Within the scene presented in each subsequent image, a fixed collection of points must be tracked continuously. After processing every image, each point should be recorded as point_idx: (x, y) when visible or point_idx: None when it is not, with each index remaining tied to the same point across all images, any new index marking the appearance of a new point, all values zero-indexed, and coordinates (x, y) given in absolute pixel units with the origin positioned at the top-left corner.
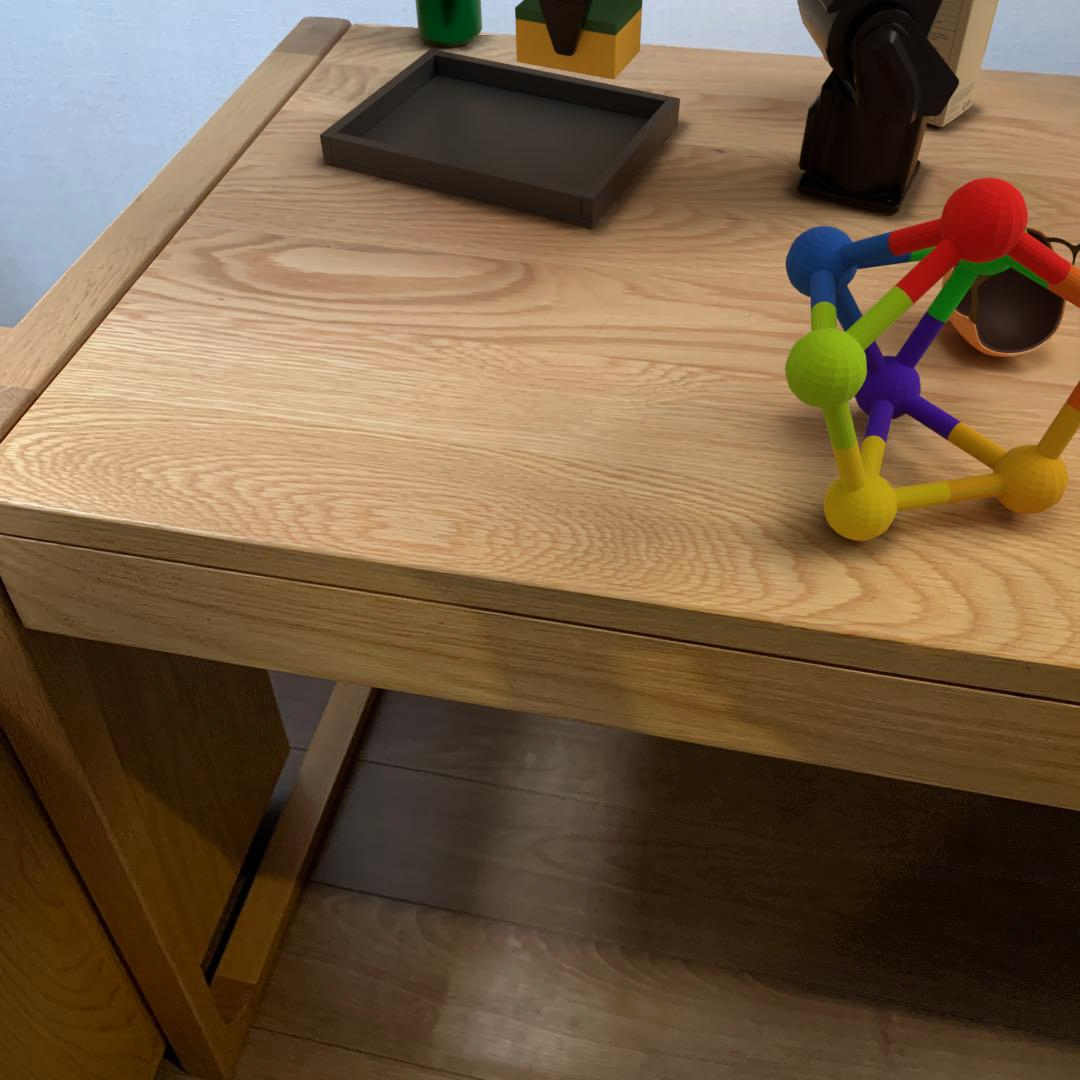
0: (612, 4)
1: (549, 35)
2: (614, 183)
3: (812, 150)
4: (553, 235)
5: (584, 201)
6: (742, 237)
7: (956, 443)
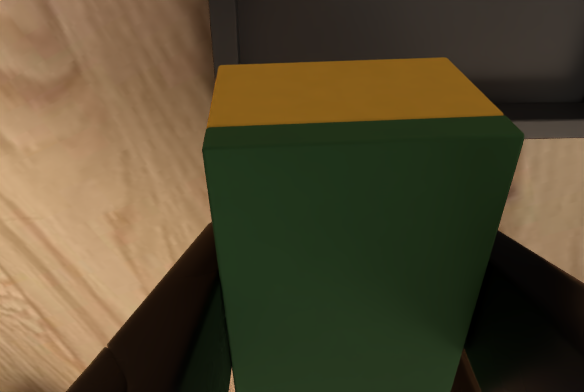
0: (367, 379)
1: (188, 248)
2: None
3: None
4: (177, 72)
5: None
6: None
7: None
